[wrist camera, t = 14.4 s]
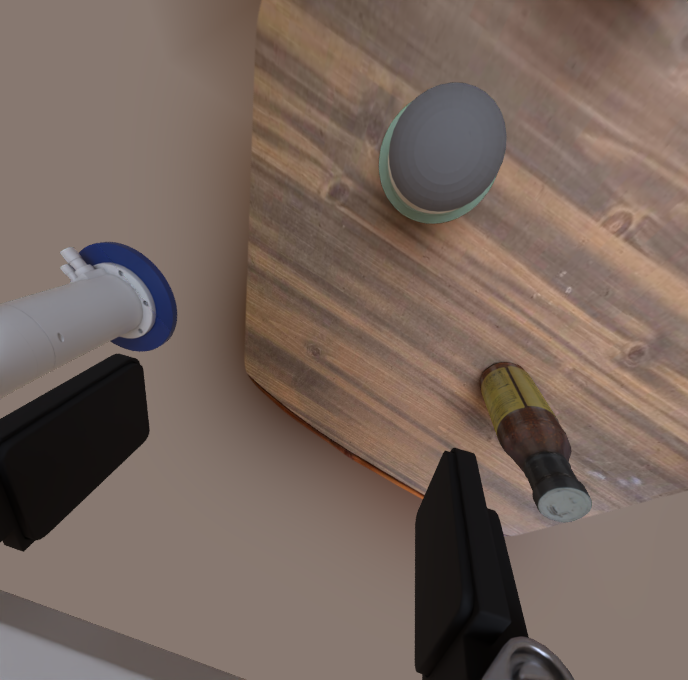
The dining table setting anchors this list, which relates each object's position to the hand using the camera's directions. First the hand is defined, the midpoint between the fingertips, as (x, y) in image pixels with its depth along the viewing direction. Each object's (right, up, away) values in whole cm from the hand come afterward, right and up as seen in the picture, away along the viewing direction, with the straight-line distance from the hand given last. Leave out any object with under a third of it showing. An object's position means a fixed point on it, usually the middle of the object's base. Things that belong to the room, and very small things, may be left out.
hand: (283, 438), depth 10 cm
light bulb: (+9, +16, +14) cm, 23 cm away
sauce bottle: (+23, -2, +35) cm, 42 cm away
